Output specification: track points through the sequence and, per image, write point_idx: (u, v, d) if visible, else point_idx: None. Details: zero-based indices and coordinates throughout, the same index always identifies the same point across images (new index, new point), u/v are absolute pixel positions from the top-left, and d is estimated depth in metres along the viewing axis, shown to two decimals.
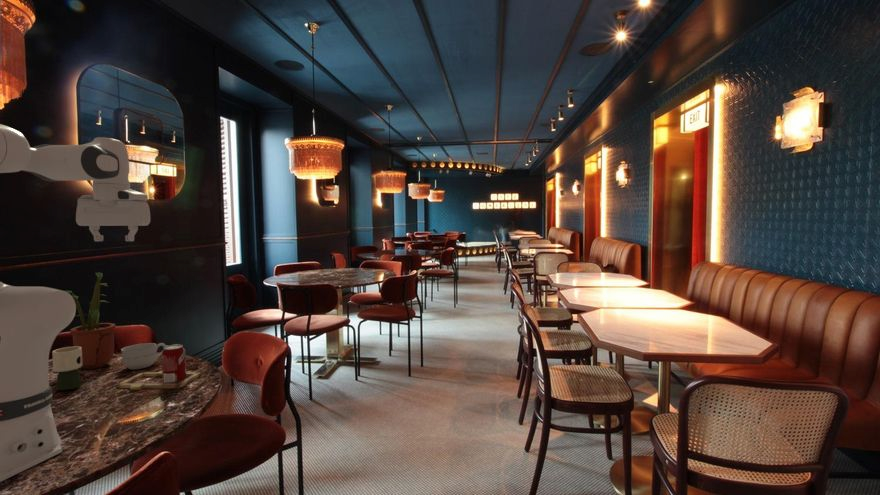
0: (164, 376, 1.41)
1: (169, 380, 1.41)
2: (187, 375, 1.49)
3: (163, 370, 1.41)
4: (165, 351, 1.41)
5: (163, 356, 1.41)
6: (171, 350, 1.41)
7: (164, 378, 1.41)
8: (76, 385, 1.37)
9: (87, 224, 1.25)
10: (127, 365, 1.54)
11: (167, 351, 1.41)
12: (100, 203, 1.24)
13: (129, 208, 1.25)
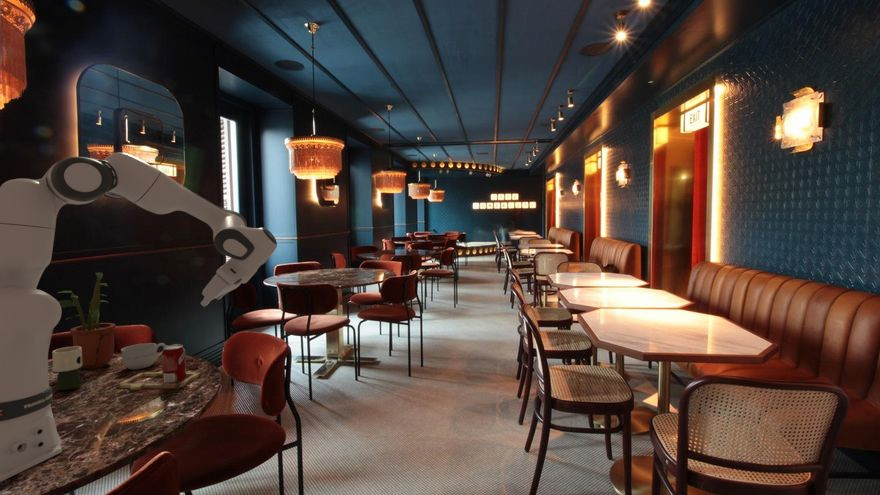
0: (164, 376, 1.41)
1: (169, 380, 1.41)
2: (187, 375, 1.49)
3: (163, 370, 1.41)
4: (165, 351, 1.41)
5: (163, 356, 1.41)
6: (171, 350, 1.41)
7: (164, 378, 1.41)
8: (76, 385, 1.37)
9: None
10: (127, 365, 1.54)
11: (167, 351, 1.41)
12: None
13: None
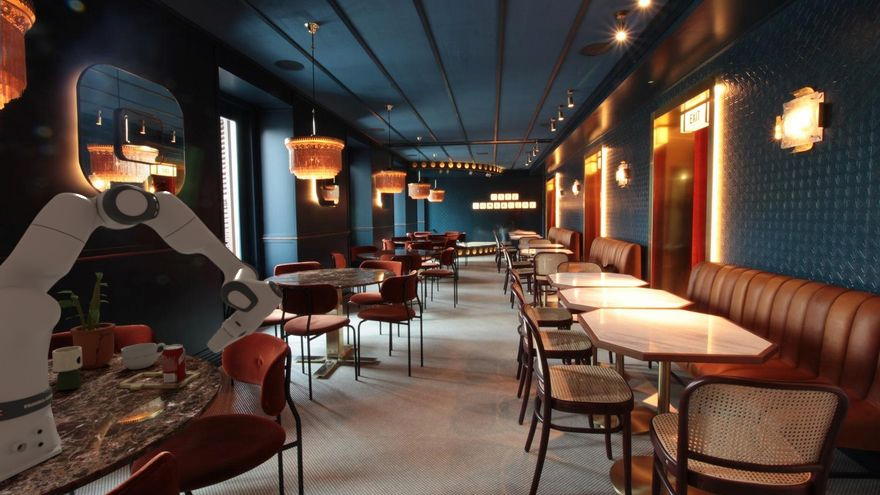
0: (164, 376, 1.41)
1: (169, 380, 1.41)
2: (187, 375, 1.49)
3: (163, 370, 1.41)
4: (165, 351, 1.41)
5: (163, 356, 1.41)
6: (171, 350, 1.41)
7: (164, 378, 1.41)
8: (76, 385, 1.37)
9: None
10: (127, 365, 1.54)
11: (167, 351, 1.41)
12: None
13: None
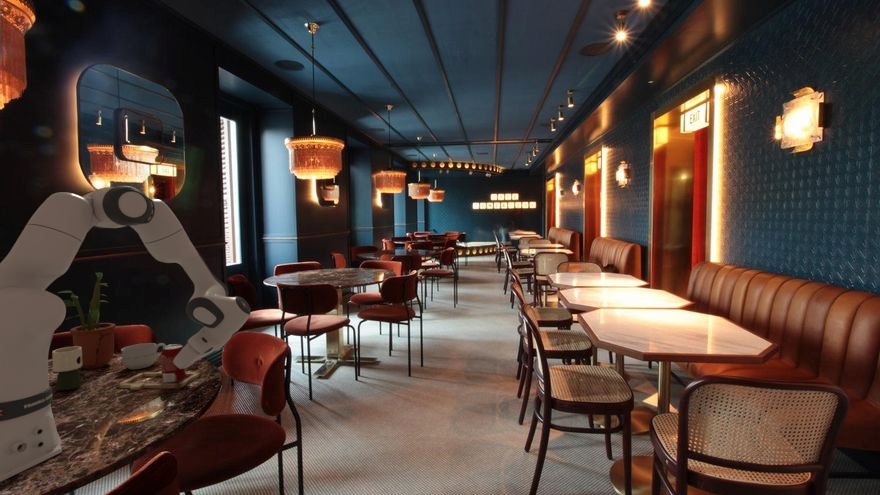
0: (164, 376, 1.41)
1: (168, 380, 1.41)
2: (187, 375, 1.49)
3: (163, 370, 1.41)
4: (164, 351, 1.41)
5: (163, 356, 1.41)
6: (171, 350, 1.41)
7: (164, 378, 1.41)
8: (76, 385, 1.37)
9: None
10: (127, 365, 1.54)
11: (167, 351, 1.41)
12: None
13: None
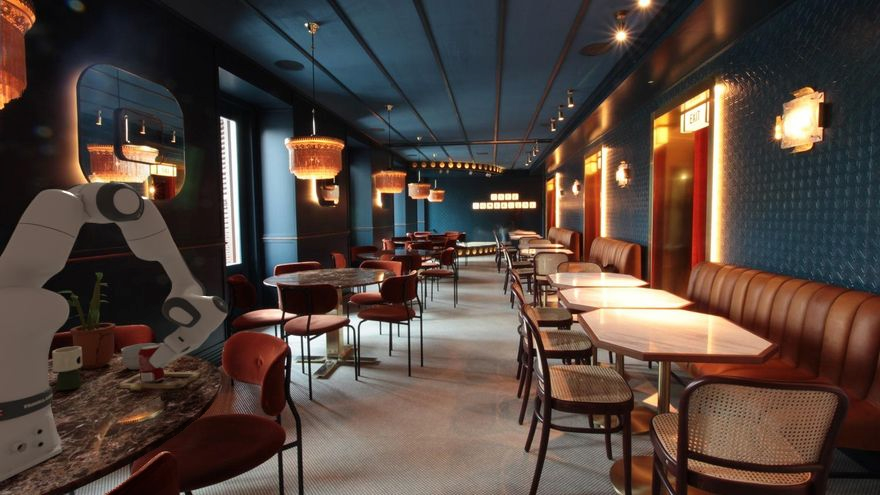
0: (141, 375, 1.41)
1: (146, 380, 1.41)
2: (187, 375, 1.49)
3: (140, 370, 1.42)
4: (142, 351, 1.41)
5: (140, 356, 1.41)
6: (148, 349, 1.41)
7: (141, 377, 1.41)
8: (76, 385, 1.37)
9: None
10: (127, 365, 1.54)
11: (144, 350, 1.41)
12: None
13: None
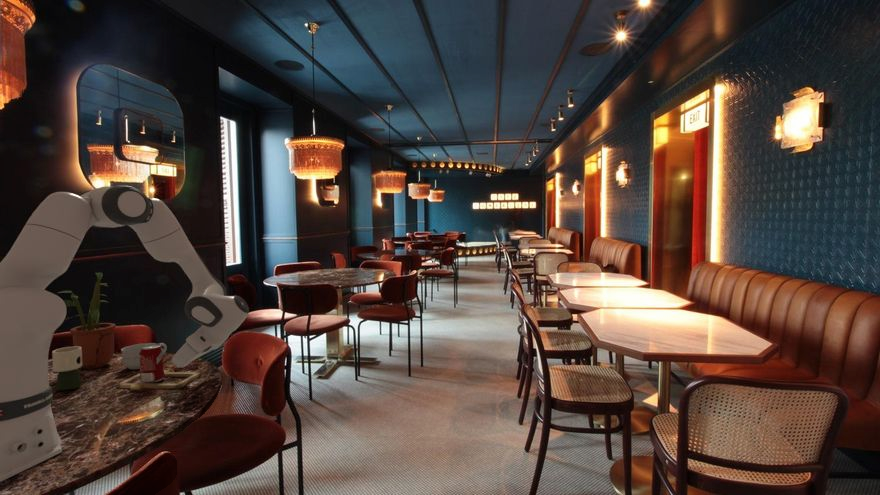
0: (142, 376, 1.41)
1: (146, 380, 1.41)
2: (187, 375, 1.49)
3: (141, 370, 1.42)
4: (143, 351, 1.41)
5: (141, 356, 1.41)
6: (149, 350, 1.42)
7: (142, 378, 1.42)
8: (76, 385, 1.37)
9: None
10: (127, 365, 1.54)
11: (145, 351, 1.41)
12: None
13: None
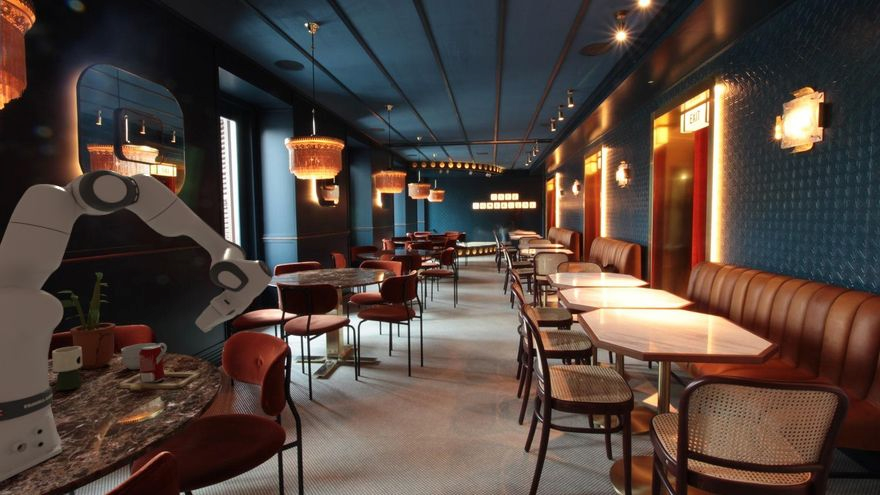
0: (142, 376, 1.41)
1: (146, 380, 1.41)
2: (187, 375, 1.49)
3: (141, 370, 1.42)
4: (143, 351, 1.41)
5: (141, 356, 1.41)
6: (149, 350, 1.41)
7: (142, 378, 1.42)
8: (76, 385, 1.37)
9: None
10: (127, 365, 1.54)
11: (145, 351, 1.41)
12: None
13: None
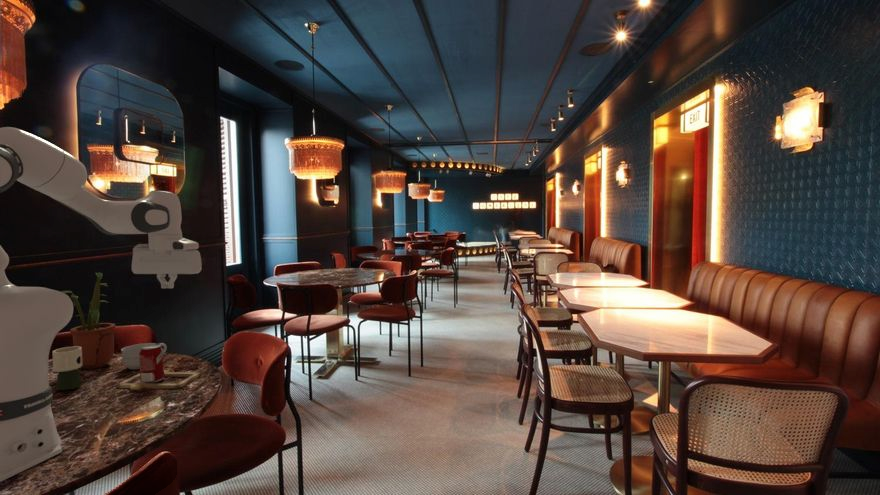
0: (142, 376, 1.41)
1: (146, 380, 1.41)
2: (187, 375, 1.49)
3: (141, 370, 1.42)
4: (143, 351, 1.41)
5: (141, 356, 1.41)
6: (149, 350, 1.42)
7: (142, 378, 1.42)
8: (76, 385, 1.37)
9: (142, 272, 1.31)
10: (127, 365, 1.54)
11: (145, 351, 1.41)
12: (155, 253, 1.30)
13: (183, 257, 1.31)
